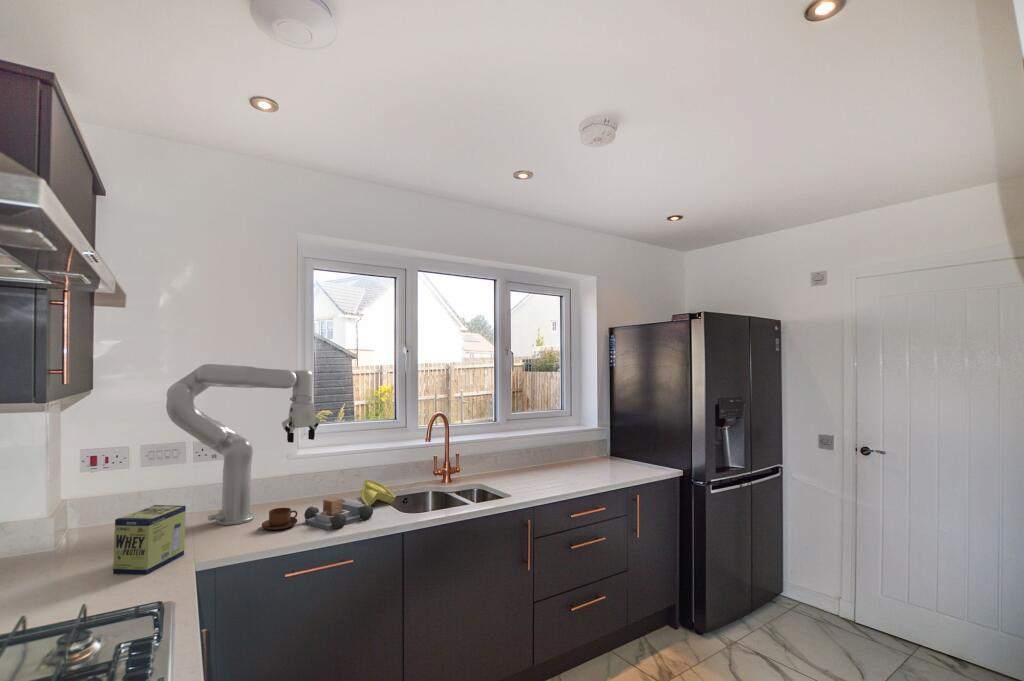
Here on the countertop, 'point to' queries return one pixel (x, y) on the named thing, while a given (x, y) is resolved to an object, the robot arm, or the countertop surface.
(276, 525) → the cup and saucer
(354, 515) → the chassis
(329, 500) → the wooden block
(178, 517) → the protein box
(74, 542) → the countertop surface
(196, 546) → the countertop surface
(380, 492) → the plastic component
